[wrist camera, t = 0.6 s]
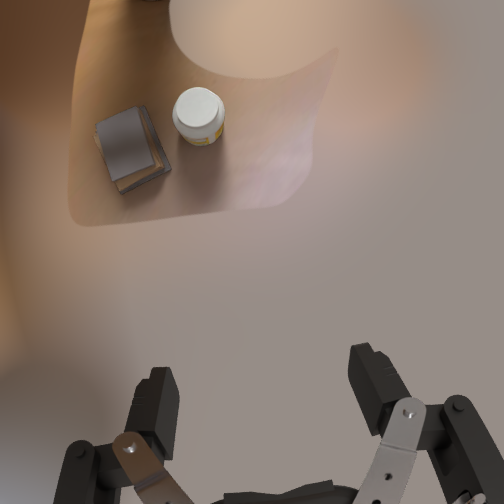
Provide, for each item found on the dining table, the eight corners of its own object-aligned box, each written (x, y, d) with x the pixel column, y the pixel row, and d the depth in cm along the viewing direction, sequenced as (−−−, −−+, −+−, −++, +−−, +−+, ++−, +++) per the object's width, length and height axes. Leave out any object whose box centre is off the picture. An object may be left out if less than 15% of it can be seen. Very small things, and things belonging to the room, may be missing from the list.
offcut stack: (97, 132, 34) (84, 127, 30) (145, 106, 34) (136, 98, 30) (122, 194, 36) (111, 196, 32) (171, 169, 36) (165, 167, 32)
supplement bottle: (193, 154, 36) (184, 145, 26) (172, 118, 34) (157, 99, 25) (232, 132, 36) (236, 116, 26) (210, 96, 34) (208, 71, 25)
